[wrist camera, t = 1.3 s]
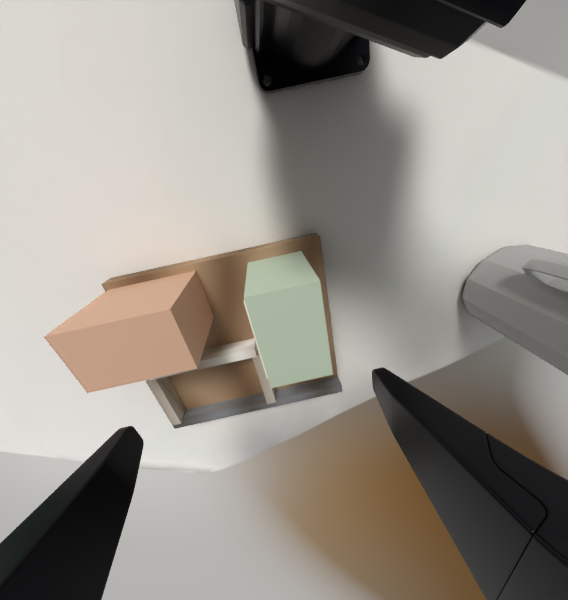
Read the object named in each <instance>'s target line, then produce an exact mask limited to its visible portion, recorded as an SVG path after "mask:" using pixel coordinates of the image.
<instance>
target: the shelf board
mask: <svg viewBox="0 0 568 600" xmlns="http://www.w3.org/2000/svg"><path fill="white" fill-rule="evenodd" d="M298 251H302V253H303V255H304V256H305V258H306V259H307V261H308V262H309V264H310V266H311V267H312V269H313V270H314V272H315V273H316V275H317V277H318V278H319V280H320V283H321V290H322V298H323V305H324V312H325V319H326V327H327V334H328V341H329V349H330V356H331V363H332V370H333V375H329V376H325V377H320V378H316V379H311V380H307V381H302V382H298V383H293V384H289V385H284V386H280V387H275V388H271V387H270V383H269V380H268V379H267V378H266V374H265V371H264V368H263V365H262V361H261V358H260V355H259V351H258V348H257V345H256V342H255V338H254V335H253V332H252V328H251V325H250V322H249V318H248V315H247V312H246V309H245V305H244V291H245V282H246V273H247V264H248V262H253V261H257V260H262V259H266V258H271V257H276V256H280V255H285V254H289V253H294V252H298ZM192 271H197V274H198V276H199V279H200V282H201V284H202V287H203V290H204V292H205V295H206V298H207V300H208V303H209V306H210V308H211V311H212V313H213V316H214V318H213V321H212V324H211V328H210V331H209V334H208V337H207V340H206V343H205V346H204V350H203V353H202V356H201V359H200V362H199V365H198V368H197V369H193V370H188V371H184V372H179V373H175V374H170V375H166V376H161V377H157V378H152V379H148V380H146V383H147V384H148V386H149V387H150V389H151V391H152V392H153V394H154V396H155V397H156V399H157V401H158V402H159V404H160V406H161V407H162V409H163V410H164V412H165V414H166V415H167V417H168V419H169V420H170V422H171V424H172V425H173V426H174V428H180V427H184V426H189V425H193V424H198V423H202V422H207V421H211V420H216V419H220V418H225V417H229V416H234V415H238V414H243V413H247V412H252V411H256V410H261V409H265V408H270V407H274V406H279V405H283V404H288V403H292V402H297V401H301V400H306V399H310V398H315V397H319V396H324V395H328V394H333V393H337V392H342V386H341V383H340V381H339V378H338V375H337V367H336V359H335V352H334V344H333V336H332V328H331V320H330V312H329V304H328V296H327V288H326V281H325V273H324V265H323V257H322V249H321V241H320V236H319V235H318V234H317V233H315V234H310V235H306V236H301V237H296V238H292V239H287V240H283V241H278V242H274V243H269V244H264V245H260V246H255V247H251V248H246V249H242V250H237V251H233V252H228V253H223V254H219V255H214V256H210V257H205V258H201V259H196V260H192V261H187V262H182V263H178V264H173V265H169V266H164V267H160V268H155V269H150V270H146V271H141V272H137V273H132V274H128V275H123V276H119V277H114V278H110V279H109V280H107V281H106V282H104V283H103V284H102V286H103V288H104V289H105V291H107V290H110V289H114V288H119V287H123V286H128V285H132V284H137V283H141V282H146V281H151V280H155V279H160V278H164V277H169V276H173V275H178V274H182V273H187V272H192Z"/></svg>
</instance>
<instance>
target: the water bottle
mask: <svg viewBox="0 0 568 600" xmlns="http://www.w3.org/2000/svg"><path fill="white" fill-rule="evenodd" d="M463 300H464V303H465V306H466V308H467V311H468V313H469V314H471V315H472V316H474V317H475V318H477V319H479V320H480V321H482V322H484V323H485V324H487V325H488V326H490V327H492V328H493V329H495V330H496V331H498V332H500V333H501V334H503V335H504V336H506V337H508V338H509V339H511V340H513V341H514V342H516V343H517V344H519V345H520V346H522V347H524V348H525V349H527V350H528V351H530V352H532V353H533V354H535V355H537V356H538V357H540V358H541V359H543V360H545V361H546V362H548V363H549V364H551V365H553V366H554V367H556V368H558V369H559V370H561V371H562V372H564V373H565V374H567V375H568V254H565V253H561V252H556V251H552V250H548V249H544V248H539V247H535V246H531V245H519V246H509V247H504V248H501V249H499V250H498V251H496V252H494V253H493V254H491V255H490V256H488V257H487V258H485V259H483V260H482V261H480V262H479V264H478V265H477V266H476V268H475V269H474V270H473V271H472V273H471V274H470V275H469V276H468V278H467V280H466V284H465V288H464V291H463Z"/></svg>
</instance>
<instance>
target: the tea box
mask: <svg viewBox="0 0 568 600" xmlns="http://www.w3.org/2000/svg"><path fill="white" fill-rule="evenodd" d="M244 305H245V309H246V312H247V315H248V318H249V322H250V325H251V328H252V332H253V335H254V338H255V342H256V345H257V348H258V351H259V355H260V358H261V361H262V365H263V368H264V371H265V374H266V378H267V379H268V380H269V383H270V387H271V388H275V387H280V386H284V385H289V384H293V383H298V382H302V381H307V380H311V379H316V378H320V377H325V376H329V375H333V370H332V363H331V356H330V349H329V341H328V334H327V327H326V319H325V312H324V305H323V298H322V290H321V283H320V280H319V278H318V277H317V275H316V273H315V272H314V270H313V269H312V267H311V266H310V264H309V262H308V261H307V259H306V258H305V256H304V255H303V253H302V251H298V252H294V253H289V254H285V255H280V256H276V257H271V258H266V259H262V260H257V261H253V262H248V264H247V273H246V282H245V291H244Z"/></svg>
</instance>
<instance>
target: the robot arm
mask: <svg viewBox="0 0 568 600" xmlns="http://www.w3.org/2000/svg"><path fill="white" fill-rule="evenodd" d="M525 1H526V0H234V2H235V7H236V12H237V17H238V22H239V27H240V32H241V37H242V42H243V45H244V46H245V47H246V48H247V49H252V52H253V57H254V63H255V68H256V73H257V79H258V84H259V87H260V89H261V90H262V92H264V93H273V92H278V91H283V90H287V89H292V88H297V87H301V86H306V85H310V84H315V83H320V82H324V81H329V80H333V79H338V78H343V77H347V76H352V75H357V74H360V73H362V72H363V71H364V70H365V69H366V68H367V67H368V64H369V60H370V51H369V40H370V41H373V42H375V43H378V44H381V45H383V46H386V47H389V48H391V49H394V50H397V51H399V52H402V53H405V54H407V55H410V56H413V57H422V58H427V57H429V56H433V57H435V58H438V59H442V58H443V57H445V56H446V55H448V54H449V53H451V52H452V51H454V50H455V49H457V48H458V47H459V46H461V45H462V44H464V43H465V42H466V41H468V40H469V39H470V38H471V37H472V36H473V35H474V34H475V33H477V32H478V31H479V30H480V29H481V28H482V27H483V26H484V25H485V24H486V23H487V22H488V23H490V24H493V25H495V26H497V27H500V28H502V27H504V26H505V25H506V24H508V23H509V22H510V20H511V19H512V18H513V16H514V15H515V14H516V13H517V12H518V10H519V9H520V8H521V6H522V5H523V4H524V2H525ZM358 57H361V59H362V61H363V64H362V66H359V65H358V64H357V58H358ZM265 77H268V78H269V79H270V80H271V84H270V85H269V86H266V85H264V83H263V79H264V78H265ZM372 381H373V389H374V392H375V394H376V397H377V399H378V401H379V403H380V406H381V408H382V410H383V413H384V415H385V417H386V420H387V422H388V424H389V426H390V428H391V431H392V433H393V435H394V437H395V439H396V440H397V442H398V444H399V446H400V447H401V449H402V451H403V453H404V455H405V456H406V458H407V460H408V461H409V463H410V465H411V467H412V469H413V470H414V472H415V474H416V476H417V478H418V479H419V481H420V483H421V485H422V486H423V488H424V490H425V492H426V493H427V495H428V497H429V498H430V501H431V502H432V504H433V506H434V508H435V509H436V511H437V513H438V514H439V516H440V518H441V520H442V522H443V523H444V525H445V527H446V529H447V530H448V532H449V534H450V536H451V537H452V539H453V541H454V543H455V545H456V546H457V548H458V550H459V552H460V554H461V555H462V557H463V559H464V561H465V562H466V564H467V566H468V568H469V570H470V571H471V573H472V575H473V577H474V578H475V580H476V582H477V584H478V585H479V587H480V589H481V591H482V593H483V594H484V596H485V598H486V600H568V480H566V479H565V478H563V477H561V476H559V475H557V474H555V473H554V472H552V471H550V470H548V469H546V468H545V467H543V466H541V465H539V464H538V463H536V462H534V461H532V460H530V459H529V458H527V457H525V456H523V455H522V454H520V453H519V452H517V451H516V450H514V449H512V448H511V447H509V446H507V445H506V444H504V443H502V442H501V441H499V440H498V439H496V438H494V437H493V436H491V435H490V434H488V433H487V434H486V433H485V431H483V430H482V429H480V428H478V427H477V426H475V425H474V424H472V423H471V422H469V421H467V420H466V419H464V418H463V417H461V416H460V415H458V414H456V413H455V412H453V411H452V410H450V409H449V408H447V407H445V406H444V405H442V404H441V403H439V402H438V401H436V400H434V399H433V398H431V397H429V396H428V395H426V394H425V393H423V392H422V391H420V390H419V389H417V388H415V387H414V386H412V385H411V384H409V383H408V382H406V381H404V380H403V379H401V378H400V377H398V376H396V375H395V374H393V373H392V372H390V371H389V370H387V369H385V368H378V369H374V370H373V371H372ZM142 450H143V439H142V438H141V436H140V435H139V434H138V432H137V431H136V430H135V428H134V427H132V426H128V427H124V428H121V429H119V430H117V431H116V432H115V433H114V434H113V435H112V436H111V437H110V438H109V439H108V440H107V441H106V442H105V443H104V444H103V445H102V446H101V447H100V448H99V449H98V450H97V451H96V452H95V453H94V454H93V455H92V456H90V457H89V458H88V459H87V460H86V461H85V462H84V463H83V464H82V465H81V466H80V467H79V468H78V469H77V470H76V471H75V472H74V473H73V474H72V475H71V476H70V477H69V478H68V479H67V480H66V481H65V482H64V483H63V484H61V485H60V486H59V487H58V488H57V489H56V490H55V491H54V492H53V493H52V494H51V495H50V496H49V497H48V498H47V499H46V500H45V501H44V502H43V503H42V504H41V505H40V506H39V507H38V508H37V509H36V510H34V511H33V513H31V514H30V515H29V516H28V517H27V518H26V519H25V520H24V521H23V522H22V523H21V524H20V525H19V526H18V527H17V528H16V529H15V530H14V531H13V532H12V533H11V534H10V535H9V536H8V537H7V538H5V539H4V540H3V541H2V542H1V543H0V600H101V599H102V595H103V592H104V589H105V585H106V582H107V578H108V576H109V572H110V569H111V566H112V562H113V559H114V556H115V552H116V549H117V546H118V542H119V539H120V536H121V532H122V529H123V526H124V523H125V519H126V516H127V513H128V509H129V506H130V503H131V499H132V496H133V492H134V488H135V483H136V478H137V474H138V469H139V464H140V459H141V455H142Z"/></svg>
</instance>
